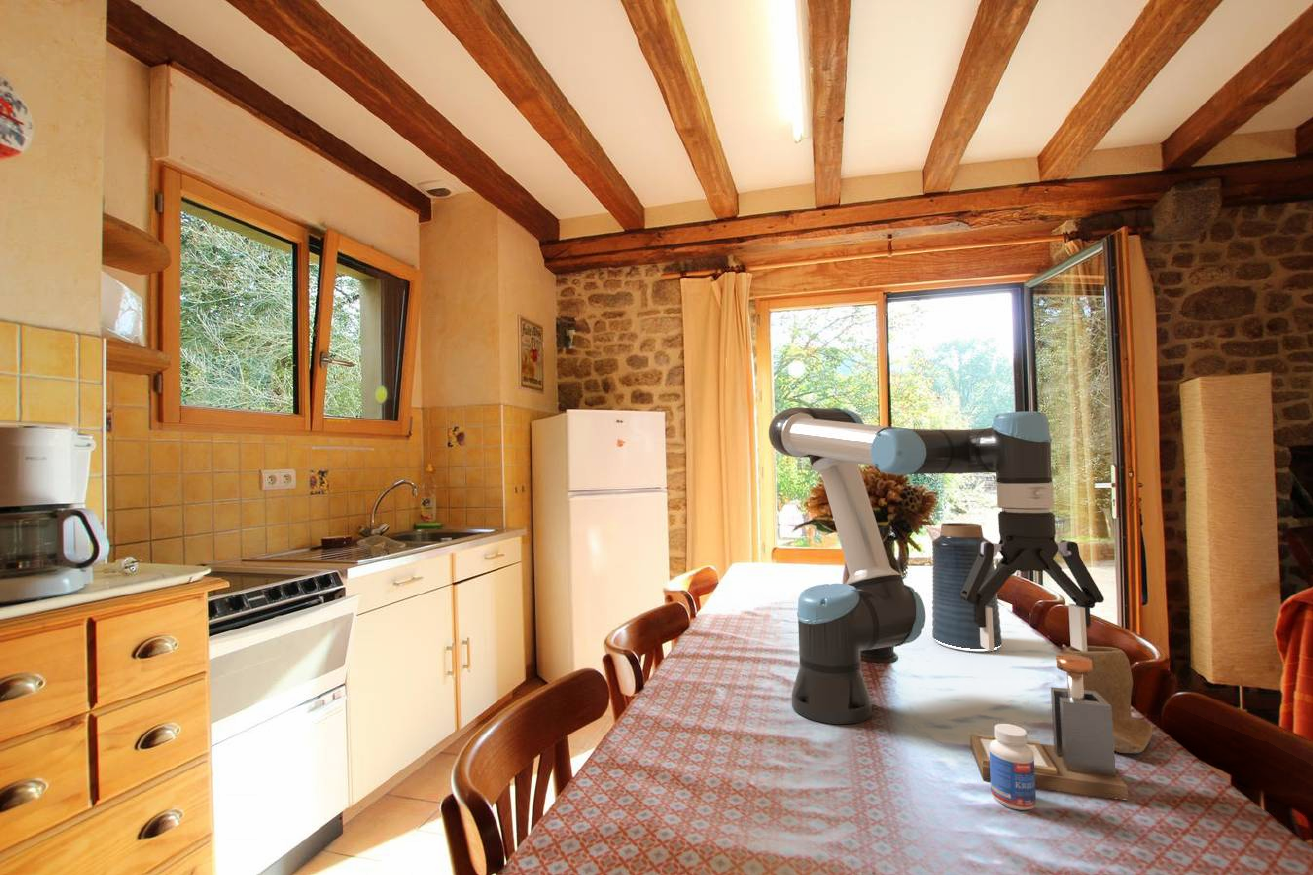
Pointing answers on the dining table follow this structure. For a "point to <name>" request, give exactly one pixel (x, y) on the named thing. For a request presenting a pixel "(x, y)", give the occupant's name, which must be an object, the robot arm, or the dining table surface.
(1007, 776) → the pill bottle
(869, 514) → the robot arm
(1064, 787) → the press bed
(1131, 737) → the tan suede boot
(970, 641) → the vase
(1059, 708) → the press frame
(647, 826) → the dining table surface
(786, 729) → the dining table surface
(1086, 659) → the orange capped plunger
